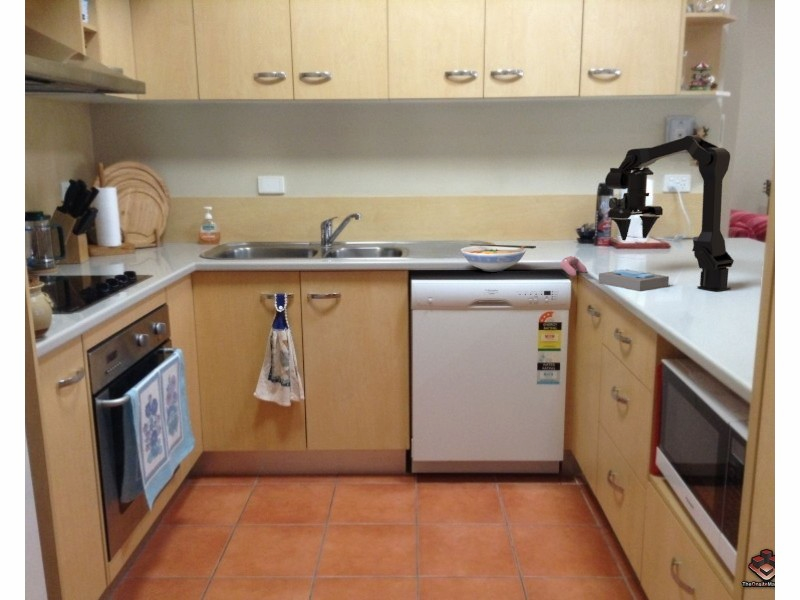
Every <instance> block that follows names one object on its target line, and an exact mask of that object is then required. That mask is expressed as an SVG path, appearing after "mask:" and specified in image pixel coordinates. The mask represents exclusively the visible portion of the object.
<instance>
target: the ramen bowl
mask: <svg viewBox="0 0 800 600" xmlns="http://www.w3.org/2000/svg"><path fill="white" fill-rule="evenodd" d="M536 248H537V246H536V245H514V244H513V245H511V244H506V245H504V244H498V245H497V244H478V245H475V244H473V243H471V244H469V246H466V247H463V248H461V249H460V252H461V253H462V255H463V256H464V258H465V259H466V261H467V262H468V263H469V265H471V266H473V267H475V268H478V269H481V270H482V271H484V272H491V273H494V272H503V271H505V270H506V269H509V268H511V267H513V266H514V265H516V264H517V263H519V262H520V261H521V260H522V258H523V257H524V255H525V254H526V251H527V249H536Z"/></svg>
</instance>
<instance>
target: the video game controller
mask: <svg viewBox="0 0 800 600" xmlns="http://www.w3.org/2000/svg"><path fill="white" fill-rule="evenodd" d="M560 267H561V269H562V270H563V271H564V272H565V273H566V274H567V275H569V276H571V277H576V276H577V271H579V272H580V273H586V272H587V271H588V269H587V267H586V266H585V265H584V264H583V263H582V262H581V261H580V259H578V257H576V256H572V255H571V256H566V257H565V258H563V259H562V260H561V261H560Z"/></svg>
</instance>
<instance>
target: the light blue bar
mask: <svg viewBox="0 0 800 600" xmlns="http://www.w3.org/2000/svg"><path fill="white" fill-rule="evenodd" d="M613 273H618V274H621V275H623V276H628V277H634V278H649V277H654V275H653V274H654V273H651V274H647V273H648V272H644V271H638V270H633V269H627V270H626V269H616V270H613Z"/></svg>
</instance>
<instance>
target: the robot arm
mask: <svg viewBox="0 0 800 600" xmlns="http://www.w3.org/2000/svg"><path fill="white" fill-rule="evenodd" d="M686 152H688V154H689V155H690V157H692V158H693V159H694V160H695V161H697V165H698V172H699V174H700V177H701V178H702V181H703V183H702V184H703V188H702V189H703V191H702V210H701V211H702V212H701V213H702V215H701V229H700V230H701V231H700V234H699V235H698V236H694V237H693V238H692V241H693V242H692V244H693V248H692V250H691V251H692V252H693V254H694V255H693V256H694V258H695V259H696V260H697V264H698V268H699V269H701V271H700V276H699V277H700V279H699V285H697V287H696V288H697V289H700V290H705V291H706V290H707V291H711V292H721V291H726V290H727V291H728V290H731V287H730V286H728V281H729V270H730V269H729V268H731V267H732V266H733V264H734V262H735V260H734V259H733V257H731V255H730V254H729V253H728V252H727V249H726V248H727V247H726V241H725V238H724V236H723V234H722V231H721V220H722V219H721V217H722V199H723V198H722V197H723V180H724V178H725V176H726V174H727V172H728V170H729V166H730V162H731V154H730V152H729V150H727V149H726V148H725V147H718V146H717V145H716V144H714V143H712V142H710V141H707V140H705V139H703V138H702V137H701V136H699V135H696V134H695V135H685V136H684V137H680V138H678V139H675V140H672V141H668V142H665V143H661V144H659V145H655V146H651V147H640V148H633V149H632V148H631V149H629V150H628V151H626V154H625V157H624V158H623V160H622V162H621V164H620V165H619V167H610V168H609V172H608V173H607V174H606V176H605V181H604V183H605V187H606V188H607V189H609V190H626V192H624V193H623V195H622V198H619V199H618V198H617V197H611V198H609V199H608V208H609V210H608V212H607V218H610V220H611V221H613V222H615V224H616V226H617V228H618V230H619V235H620V237H621V241H626V240H627V239H628V238H627V237H628V234H629V230H630V225H631V221H632V219H631V218H630V217H631V216H638V217H639V219H640V221H641V223H642V224H641V226H642V227H641V231H642V232H641V234H642V239H647V237H648V235H649V234H650V232H651V230H652V228H653V226H654V224H656V222H657V220H658V219H660V216H663V213H664V212H663V211H664V209H663V207H662V206H661V205H647V204H646V203H647V202H646V201H647V200H646V199H647V197H650V192H647V186H648V185H647V184H648V183H647V182H648V176H653V175H654V172H653V171H652V170H651V169H650V168H649V166H652V165H653V164H655V163H656V162H657V161H660V160H661V159H664V158H668V157H671V156H676V155H677V154H678V155H679V154H682V153H686Z"/></svg>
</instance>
